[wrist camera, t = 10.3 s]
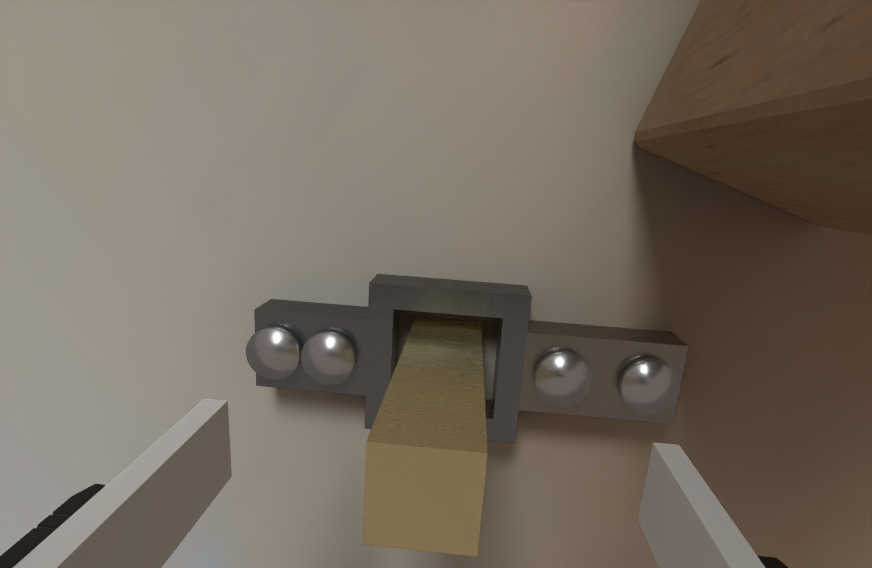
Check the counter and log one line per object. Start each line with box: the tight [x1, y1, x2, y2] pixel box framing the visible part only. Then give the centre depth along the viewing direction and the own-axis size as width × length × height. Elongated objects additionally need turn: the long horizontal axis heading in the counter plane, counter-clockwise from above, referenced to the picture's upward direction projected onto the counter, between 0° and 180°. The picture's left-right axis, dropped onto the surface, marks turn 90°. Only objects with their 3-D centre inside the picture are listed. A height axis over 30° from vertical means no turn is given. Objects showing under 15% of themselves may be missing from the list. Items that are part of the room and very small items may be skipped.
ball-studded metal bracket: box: [246, 274, 689, 443], centre depth 24 cm, size 8×21×3 cm, turn 86°
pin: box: [363, 317, 488, 557], centre depth 20 cm, size 3×3×12 cm
